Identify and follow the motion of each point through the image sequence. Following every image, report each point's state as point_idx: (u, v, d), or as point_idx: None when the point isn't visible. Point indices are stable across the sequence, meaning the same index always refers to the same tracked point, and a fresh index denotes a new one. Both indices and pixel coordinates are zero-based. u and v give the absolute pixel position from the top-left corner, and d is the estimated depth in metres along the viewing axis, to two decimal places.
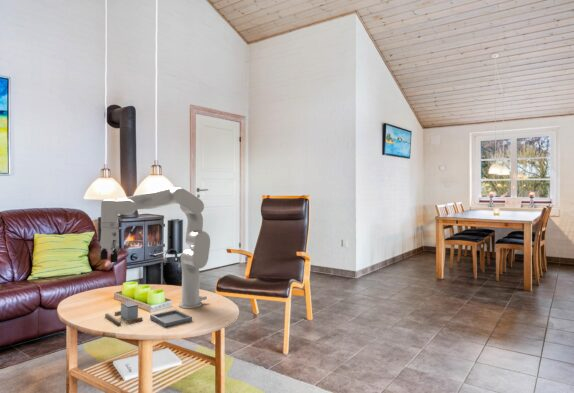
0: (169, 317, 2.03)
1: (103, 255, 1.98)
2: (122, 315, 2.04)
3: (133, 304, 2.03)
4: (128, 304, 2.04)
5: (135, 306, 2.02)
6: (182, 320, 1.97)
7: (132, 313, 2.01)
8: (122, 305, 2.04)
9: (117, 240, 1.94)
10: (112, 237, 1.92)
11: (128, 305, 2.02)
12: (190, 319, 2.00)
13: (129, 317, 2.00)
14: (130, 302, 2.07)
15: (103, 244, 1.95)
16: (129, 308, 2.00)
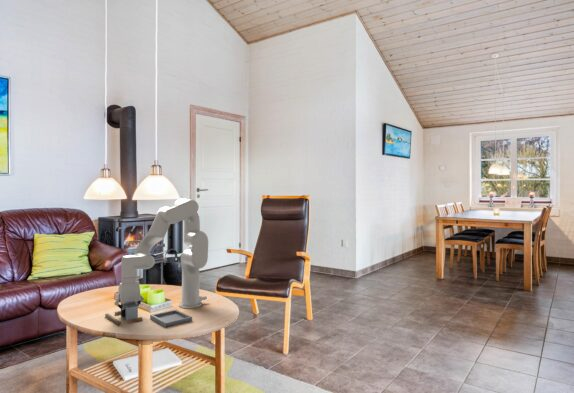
0: (169, 317, 2.03)
1: None
2: None
3: (133, 304, 2.03)
4: (128, 304, 2.04)
5: (135, 306, 2.02)
6: (182, 320, 1.97)
7: (132, 313, 2.01)
8: None
9: None
10: None
11: (128, 305, 2.02)
12: (190, 319, 2.00)
13: (129, 317, 2.00)
14: None
15: (129, 299, 2.02)
16: (129, 308, 2.00)
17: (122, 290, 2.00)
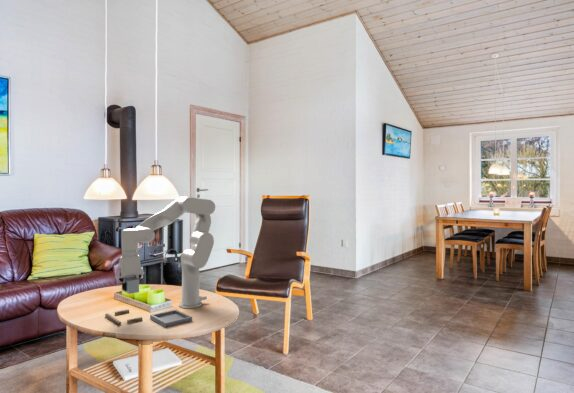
0: (169, 317, 2.03)
1: None
2: None
3: (134, 277, 2.03)
4: (129, 277, 2.04)
5: (136, 279, 2.02)
6: (182, 320, 1.97)
7: (133, 286, 2.01)
8: None
9: None
10: None
11: (129, 278, 2.02)
12: (190, 319, 2.00)
13: (130, 290, 2.00)
14: (131, 276, 2.06)
15: (129, 272, 2.02)
16: (130, 281, 2.00)
17: (123, 263, 2.00)
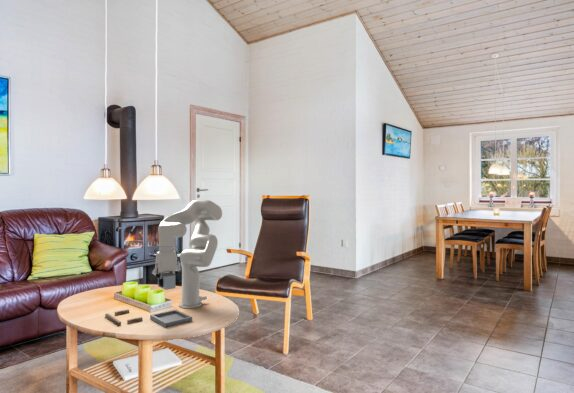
0: (169, 317, 2.03)
1: None
2: None
3: (170, 273, 2.00)
4: (165, 273, 2.01)
5: (173, 275, 1.99)
6: (182, 320, 1.97)
7: (170, 282, 1.98)
8: None
9: None
10: None
11: (165, 274, 1.99)
12: (190, 319, 2.00)
13: (167, 286, 1.97)
14: (167, 272, 2.04)
15: (166, 268, 1.99)
16: (167, 277, 1.97)
17: (160, 259, 1.97)
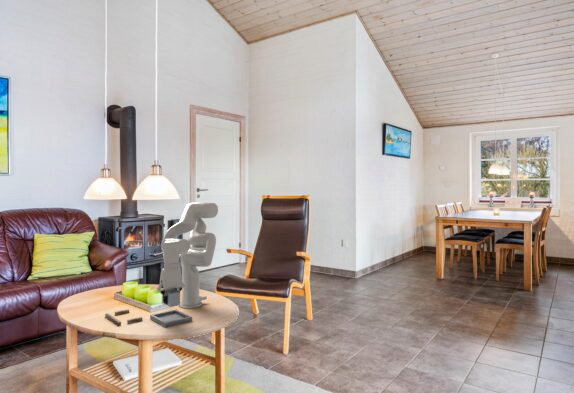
0: (169, 317, 2.03)
1: None
2: None
3: (175, 290, 2.00)
4: (170, 290, 2.00)
5: (177, 292, 1.98)
6: (182, 320, 1.97)
7: (174, 299, 1.97)
8: None
9: None
10: None
11: (170, 291, 1.98)
12: (190, 319, 2.00)
13: (172, 303, 1.96)
14: None
15: (171, 285, 1.99)
16: (172, 294, 1.96)
17: (165, 276, 1.97)
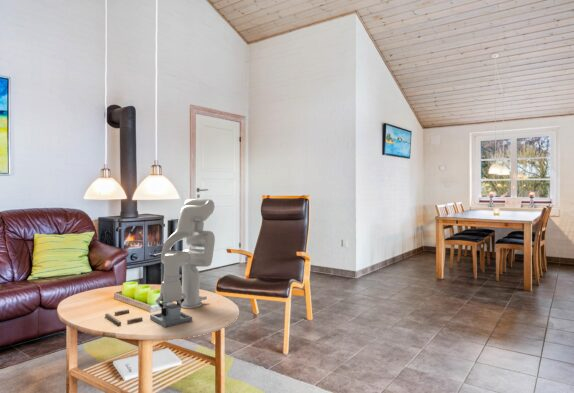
0: None
1: None
2: (164, 316, 2.02)
3: (175, 305, 2.00)
4: (170, 305, 2.01)
5: (177, 307, 1.99)
6: (182, 320, 1.97)
7: (175, 314, 1.98)
8: None
9: None
10: None
11: (170, 306, 1.99)
12: (190, 319, 2.00)
13: (172, 318, 1.97)
14: (171, 303, 2.04)
15: (171, 298, 1.99)
16: (172, 309, 1.97)
17: (165, 289, 1.97)
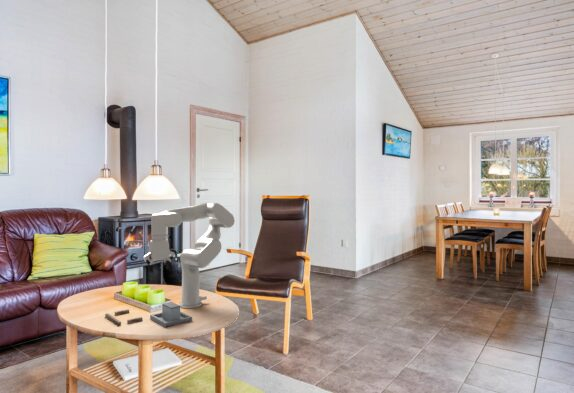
0: None
1: None
2: (164, 316, 2.02)
3: (175, 305, 2.00)
4: (170, 305, 2.01)
5: (177, 307, 1.99)
6: (182, 320, 1.97)
7: (175, 314, 1.98)
8: (164, 306, 2.02)
9: None
10: None
11: (170, 306, 1.99)
12: (190, 319, 2.00)
13: (172, 318, 1.97)
14: (171, 303, 2.04)
15: (159, 256, 2.07)
16: (172, 309, 1.97)
17: (153, 247, 2.04)
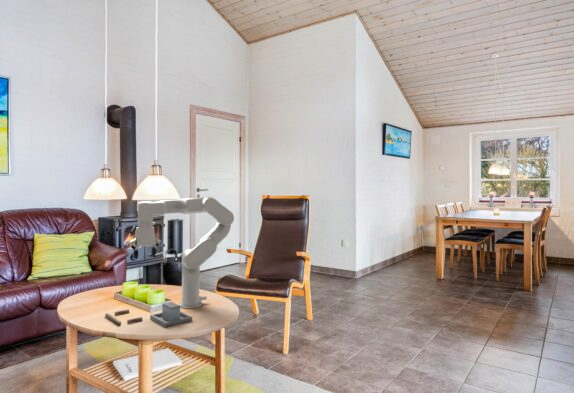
0: None
1: None
2: (164, 316, 2.02)
3: (175, 305, 2.00)
4: (170, 305, 2.01)
5: (177, 307, 1.99)
6: (182, 320, 1.97)
7: (175, 314, 1.98)
8: (164, 306, 2.02)
9: None
10: None
11: (170, 306, 1.99)
12: (190, 319, 2.00)
13: (172, 318, 1.97)
14: (171, 303, 2.04)
15: (145, 242, 2.16)
16: (172, 309, 1.97)
17: (139, 233, 2.14)
